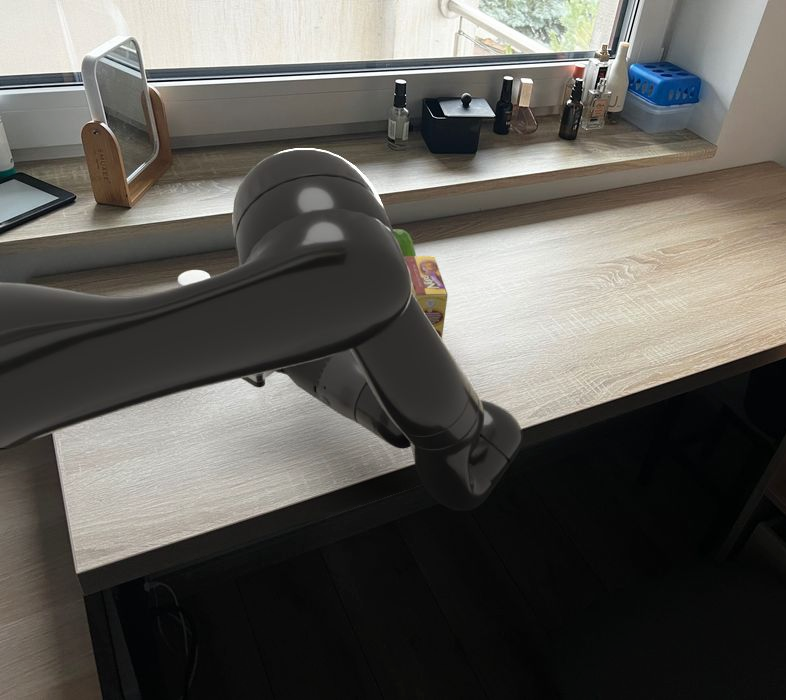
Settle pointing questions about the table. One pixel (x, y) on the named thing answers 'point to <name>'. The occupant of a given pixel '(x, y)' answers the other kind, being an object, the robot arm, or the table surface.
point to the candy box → (428, 289)
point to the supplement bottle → (192, 277)
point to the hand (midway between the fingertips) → (244, 310)
